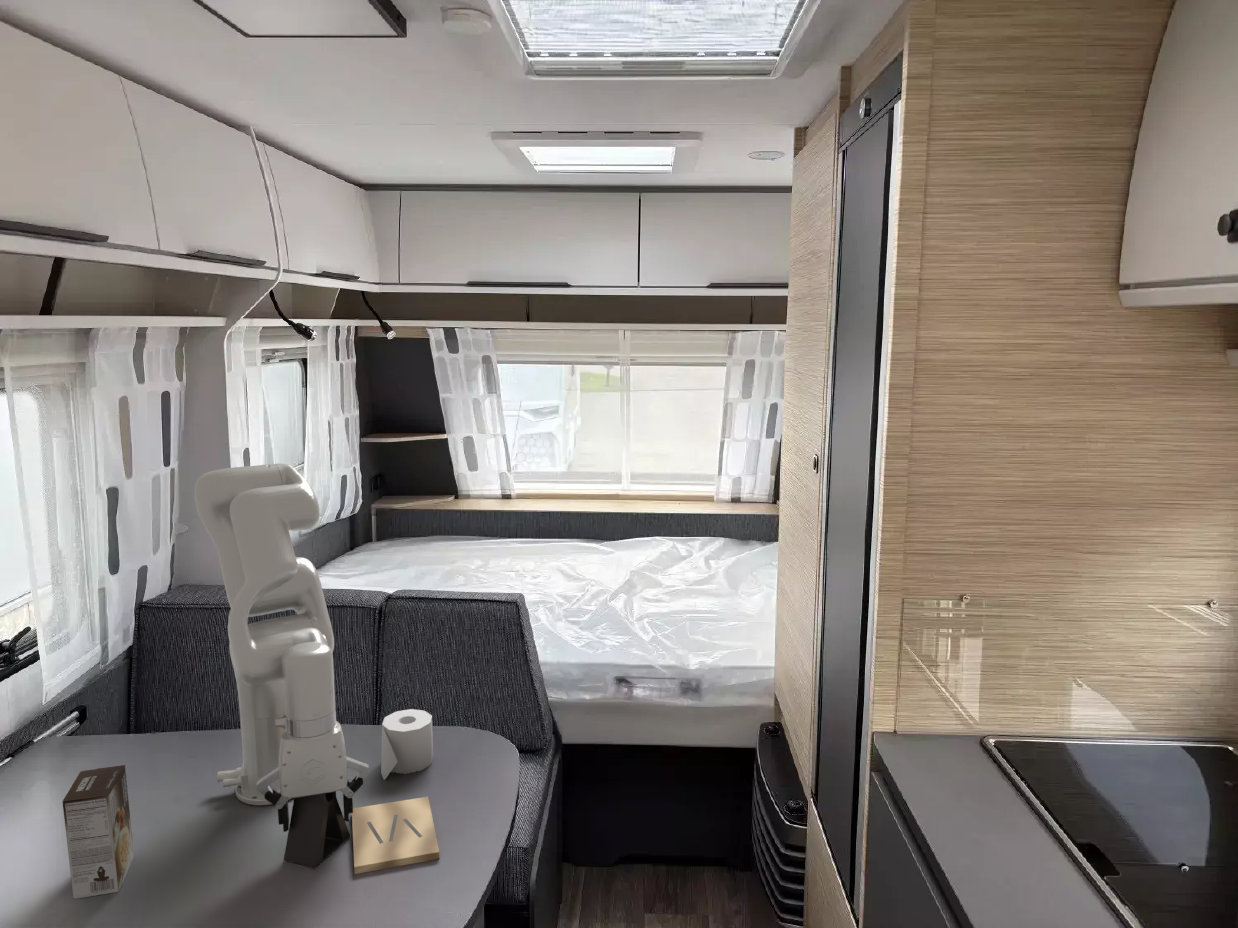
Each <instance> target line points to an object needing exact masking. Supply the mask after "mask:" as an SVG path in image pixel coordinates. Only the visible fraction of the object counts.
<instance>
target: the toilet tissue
mask: <svg viewBox="0 0 1238 928" xmlns="http://www.w3.org/2000/svg"><path fill="white" fill-rule="evenodd" d="M433 735H434V734H433V715H432V714H430V713H429V712H428V711H425V710H421V709H413V708H410V709H403V710H398V711H394V712H393V713H390V714H389V715H386V716H384V718H383V721H382V723H381V752H380V753H381V755H380V756H381V757H380V758H381V759H380V766H381V767H380V775H381V776H382V779H383V781H385V780H386V779H387V778H388V776H389V774H391V773H394V772H396V774H402V773H403V774H404V775H406V774H411V772H412V773H416V771H418V772H421V771H423V770H425V769H426V768H428V767H429V766H431V765H432V763H433V759H434V740H433V737H434V736H433Z"/></svg>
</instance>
